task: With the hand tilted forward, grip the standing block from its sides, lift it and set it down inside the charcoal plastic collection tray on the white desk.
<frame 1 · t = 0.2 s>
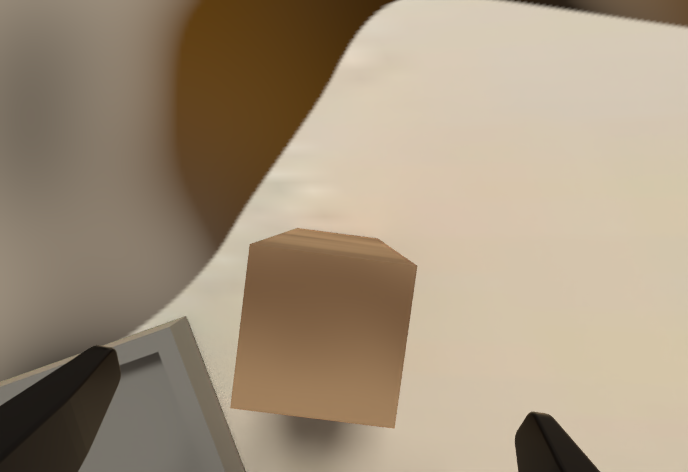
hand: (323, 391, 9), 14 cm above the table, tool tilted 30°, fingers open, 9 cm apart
tray: (127, 457, 24), on the table
block: (332, 273, 23), on the table
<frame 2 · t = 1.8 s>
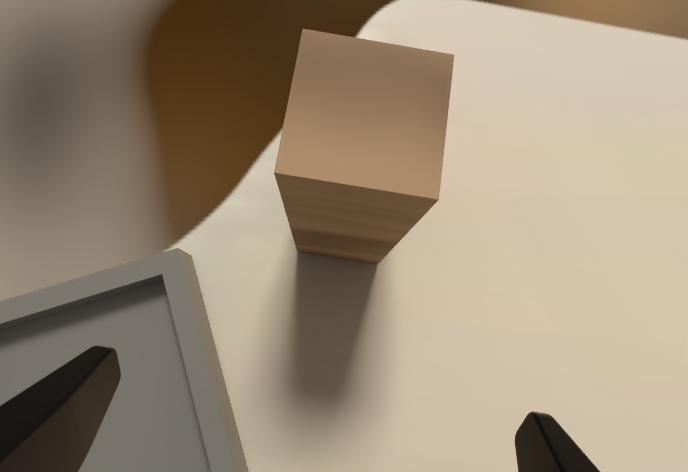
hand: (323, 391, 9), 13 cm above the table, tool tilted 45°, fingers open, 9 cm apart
tray: (103, 416, 21), on the table
block: (343, 218, 23), on the table
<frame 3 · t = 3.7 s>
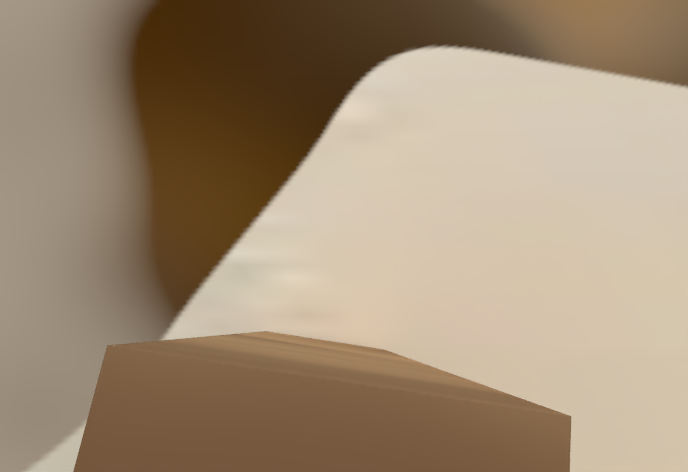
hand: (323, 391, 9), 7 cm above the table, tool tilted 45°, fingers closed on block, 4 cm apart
block: (315, 403, 15), on the table, touching gripper
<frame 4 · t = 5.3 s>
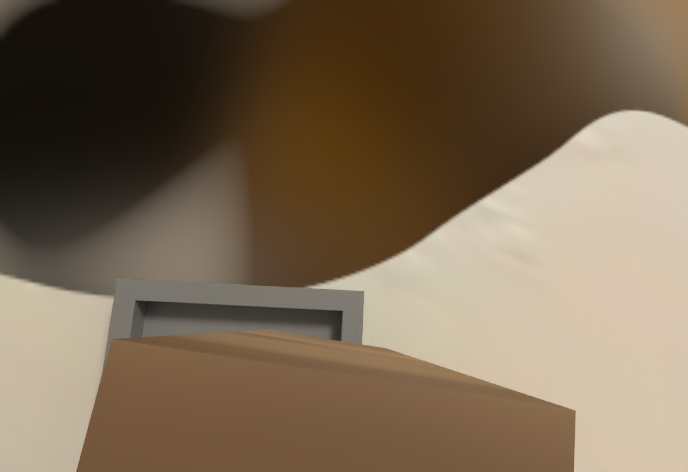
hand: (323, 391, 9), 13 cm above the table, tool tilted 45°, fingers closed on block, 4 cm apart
tray: (237, 415, 21), on the table
block: (316, 401, 15), point 7 cm above the table, touching gripper
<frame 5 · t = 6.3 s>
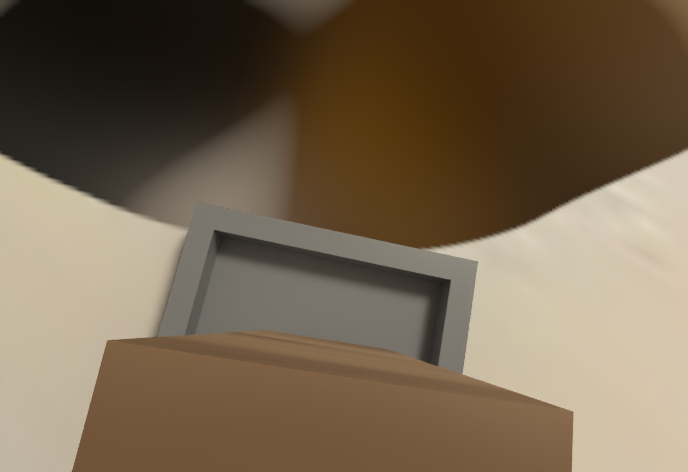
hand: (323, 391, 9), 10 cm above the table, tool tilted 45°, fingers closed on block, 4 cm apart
tray: (305, 384, 18), on the table
block: (315, 402, 15), point 3 cm above the table, touching gripper
when the fingers open (9 cm above the table, at t = 6.8 s): block drops 1 cm, resting on tray.
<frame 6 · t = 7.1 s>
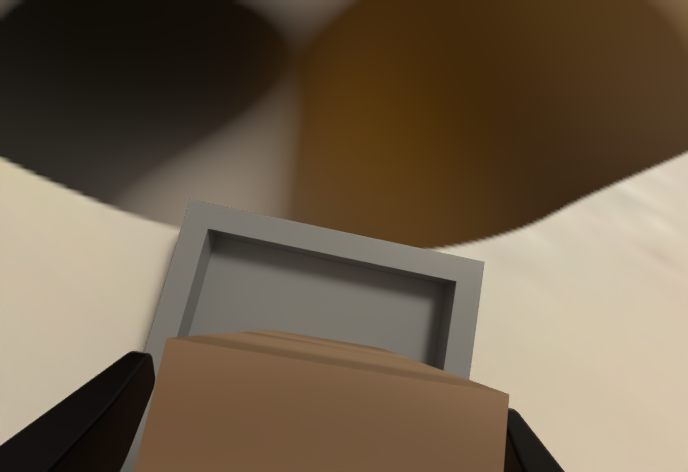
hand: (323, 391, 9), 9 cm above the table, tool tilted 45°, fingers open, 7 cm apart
tray: (303, 391, 17), on the table
block: (316, 396, 17), point 1 cm above the table, touching tray
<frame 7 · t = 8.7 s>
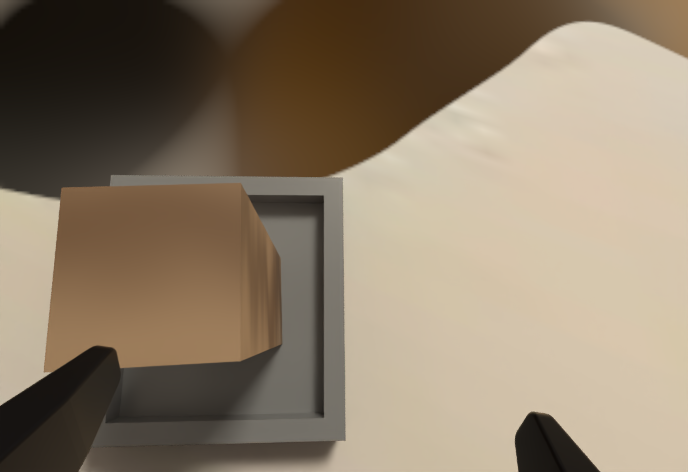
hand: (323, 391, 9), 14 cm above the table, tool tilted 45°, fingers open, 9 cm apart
tray: (231, 303, 23), on the table
block: (238, 302, 22), point 1 cm above the table, touching tray
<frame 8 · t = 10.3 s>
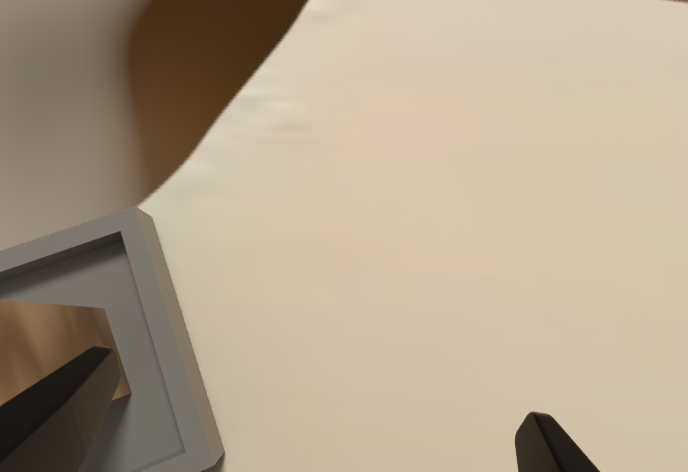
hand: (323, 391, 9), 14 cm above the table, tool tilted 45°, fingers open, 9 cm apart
tray: (71, 371, 21), on the table
block: (72, 368, 21), point 1 cm above the table, touching tray
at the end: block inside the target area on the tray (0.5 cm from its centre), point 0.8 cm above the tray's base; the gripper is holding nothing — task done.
